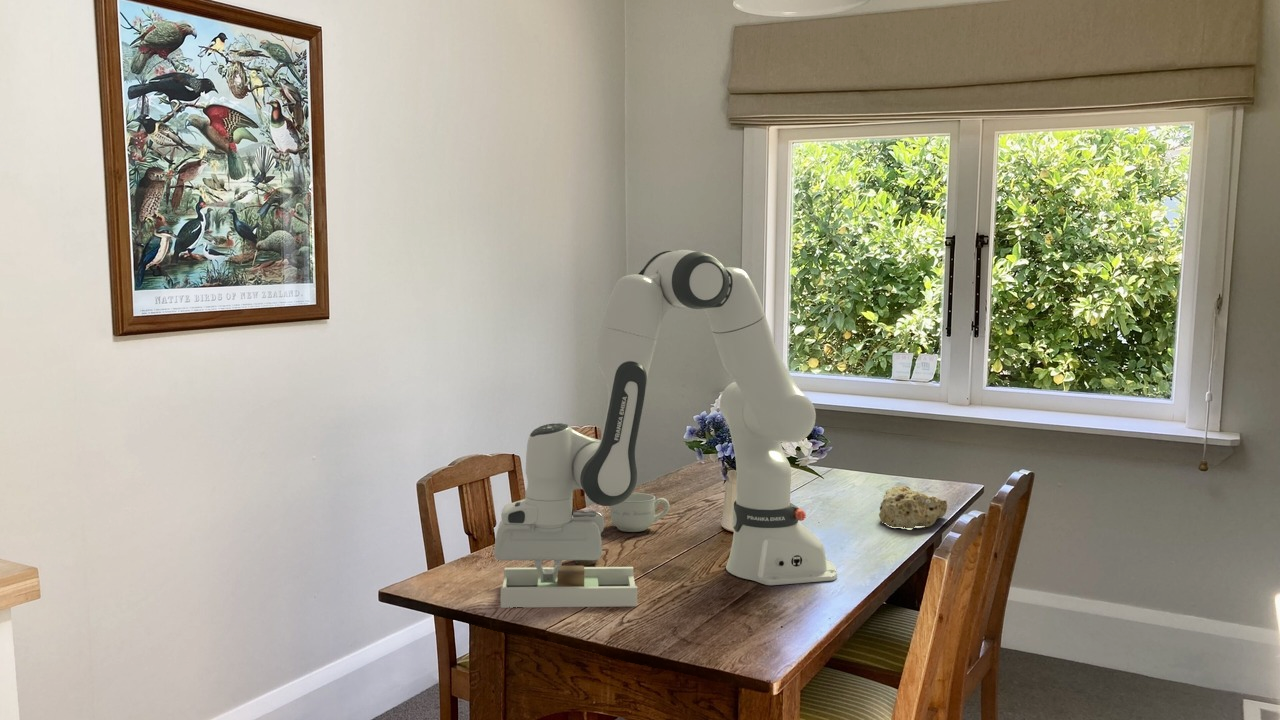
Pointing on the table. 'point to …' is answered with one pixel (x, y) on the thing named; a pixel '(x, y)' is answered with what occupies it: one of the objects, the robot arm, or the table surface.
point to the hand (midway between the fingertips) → (548, 581)
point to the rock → (910, 508)
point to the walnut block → (570, 576)
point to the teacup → (637, 512)
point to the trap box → (569, 589)
